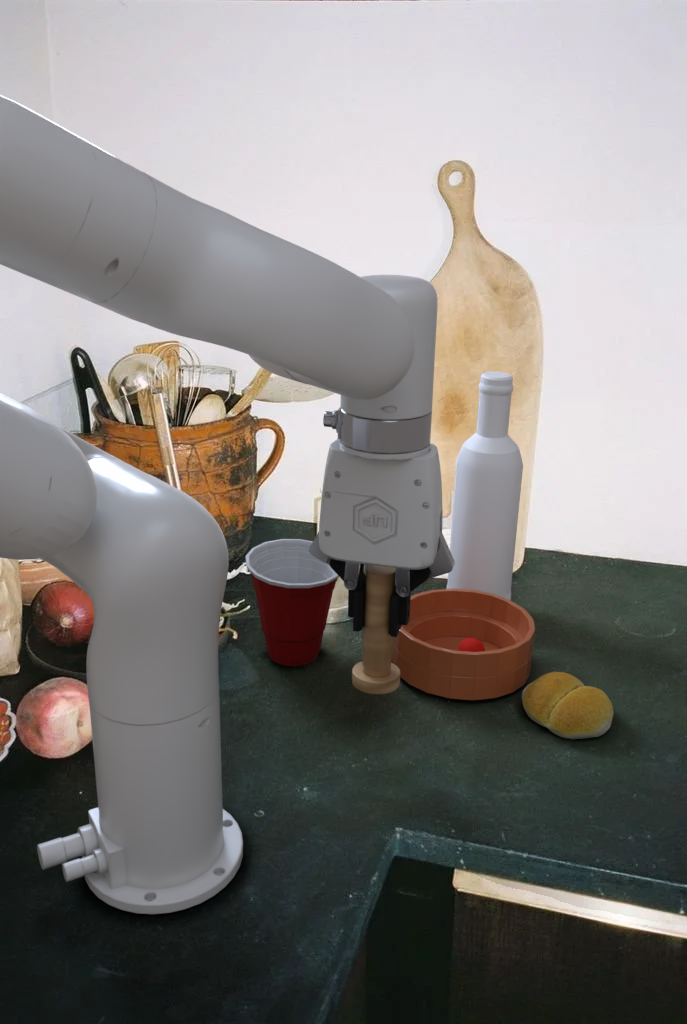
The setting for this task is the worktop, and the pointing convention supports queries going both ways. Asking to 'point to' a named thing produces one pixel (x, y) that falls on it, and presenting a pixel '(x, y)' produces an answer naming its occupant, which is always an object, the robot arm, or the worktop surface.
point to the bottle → (487, 496)
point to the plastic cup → (291, 598)
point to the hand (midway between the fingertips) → (378, 625)
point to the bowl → (445, 624)
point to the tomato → (471, 645)
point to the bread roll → (567, 706)
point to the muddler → (377, 635)
